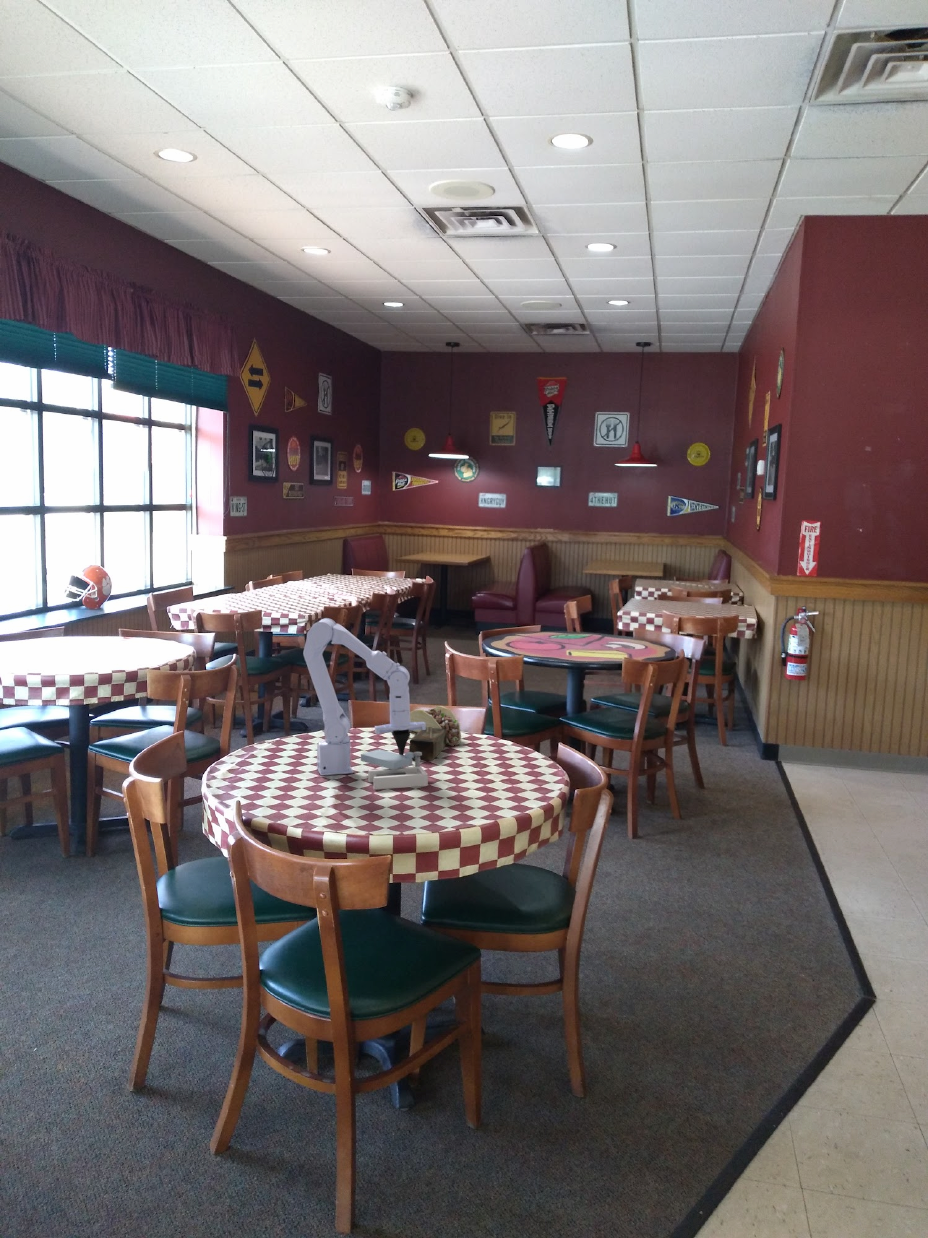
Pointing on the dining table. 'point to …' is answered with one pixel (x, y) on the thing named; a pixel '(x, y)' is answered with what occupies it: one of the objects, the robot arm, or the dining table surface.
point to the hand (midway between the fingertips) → (401, 756)
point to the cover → (389, 758)
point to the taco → (439, 722)
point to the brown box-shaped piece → (428, 743)
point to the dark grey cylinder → (391, 774)
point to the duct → (399, 777)
